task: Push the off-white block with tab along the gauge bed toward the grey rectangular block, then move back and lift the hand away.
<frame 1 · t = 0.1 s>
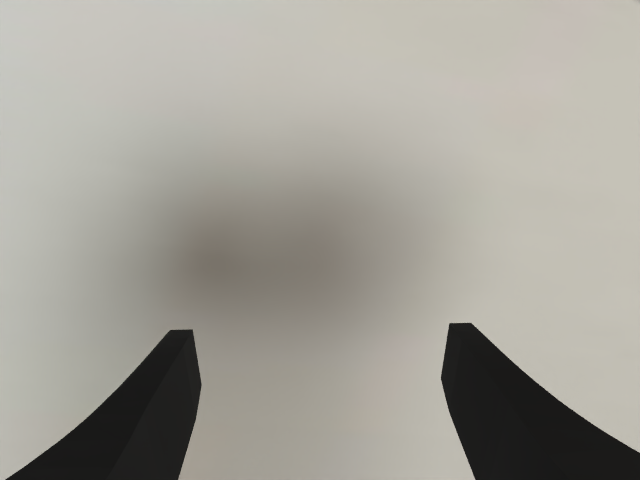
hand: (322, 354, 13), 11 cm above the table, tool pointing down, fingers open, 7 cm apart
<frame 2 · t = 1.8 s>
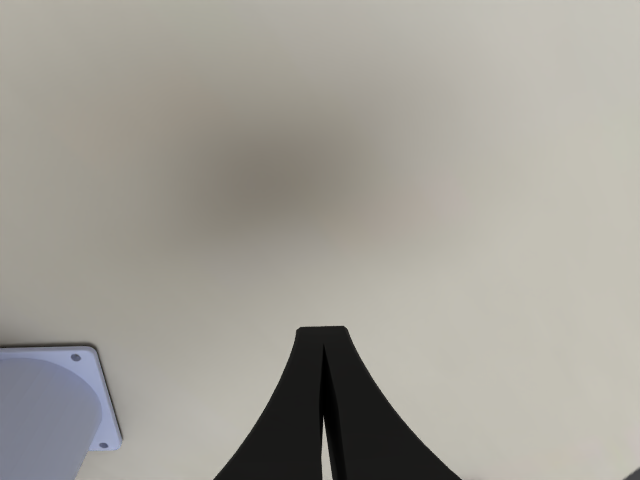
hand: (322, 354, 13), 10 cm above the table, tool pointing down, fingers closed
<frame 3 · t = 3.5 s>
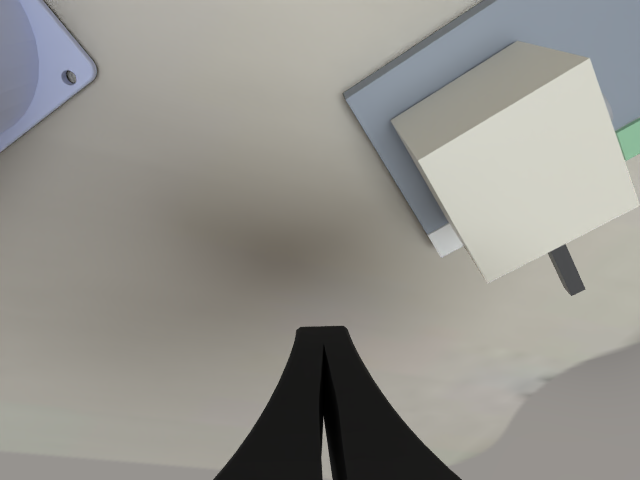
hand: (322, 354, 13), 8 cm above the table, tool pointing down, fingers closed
gauge bed: (587, 58, 18), on the table
off-white block with tab: (527, 181, 16), point 4 cm above the table, slide at 0.0 cm
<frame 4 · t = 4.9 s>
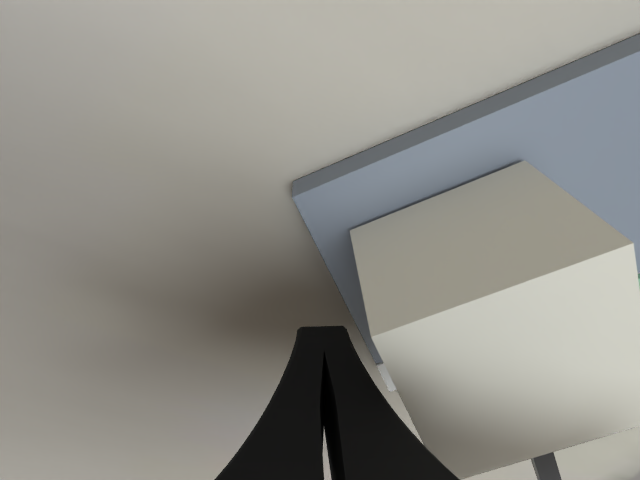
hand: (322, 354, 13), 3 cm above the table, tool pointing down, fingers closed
gauge bed: (600, 186, 14), on the table
off-white block with tab: (512, 344, 12), point 4 cm above the table, slide at 0.1 cm, touching gripper
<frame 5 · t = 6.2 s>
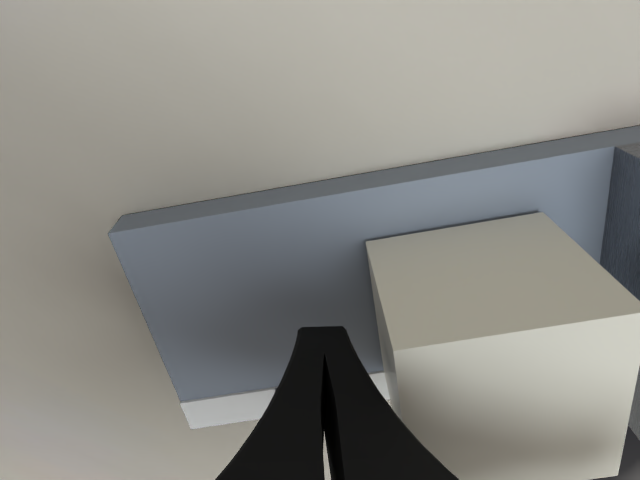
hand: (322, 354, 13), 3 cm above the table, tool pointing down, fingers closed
gauge bed: (411, 279, 16), on the table
grey rectangular block: (616, 246, 15), resting on gauge bed
off-white block with tab: (496, 381, 13), point 4 cm above the table, slide at 6.1 cm, touching gripper
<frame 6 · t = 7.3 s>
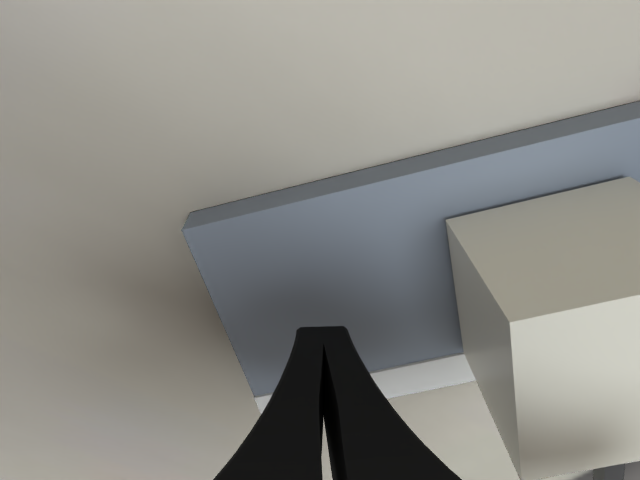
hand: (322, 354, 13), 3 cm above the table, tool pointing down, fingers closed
gauge bed: (481, 259, 15), on the table
off-white block with tab: (593, 354, 13), point 4 cm above the table, slide at 6.2 cm
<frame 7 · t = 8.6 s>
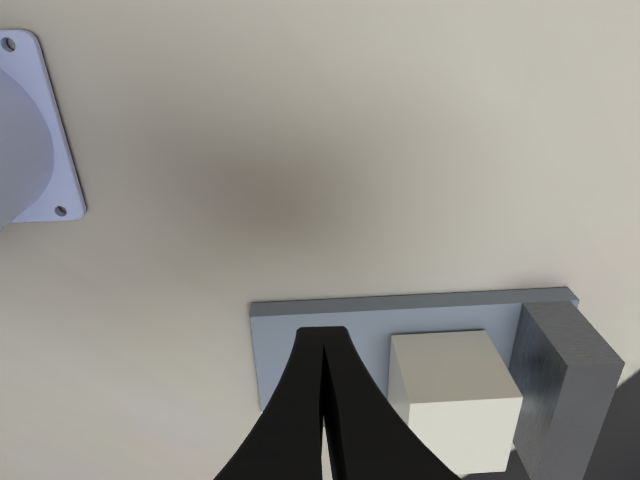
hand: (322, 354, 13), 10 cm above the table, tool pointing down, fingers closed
gauge bed: (406, 352, 27), on the table
grey rectangular block: (522, 346, 27), resting on gauge bed
off-white block with tab: (451, 417, 24), point 4 cm above the table, slide at 6.2 cm
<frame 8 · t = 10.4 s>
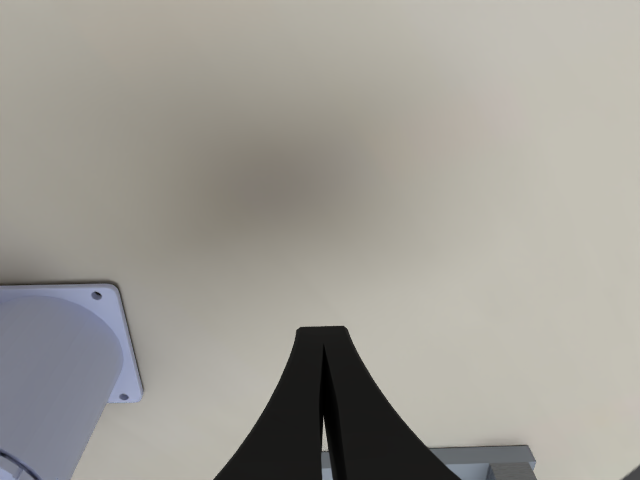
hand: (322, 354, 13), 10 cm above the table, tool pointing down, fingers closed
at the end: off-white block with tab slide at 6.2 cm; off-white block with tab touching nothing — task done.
